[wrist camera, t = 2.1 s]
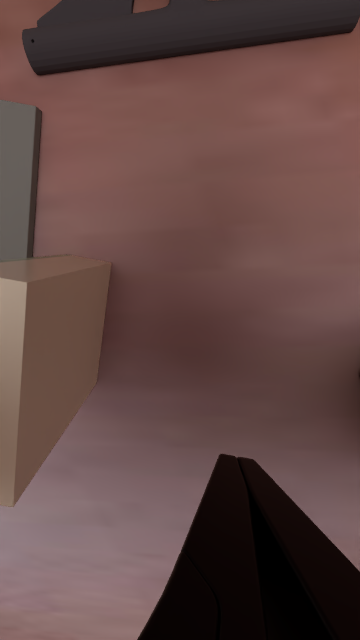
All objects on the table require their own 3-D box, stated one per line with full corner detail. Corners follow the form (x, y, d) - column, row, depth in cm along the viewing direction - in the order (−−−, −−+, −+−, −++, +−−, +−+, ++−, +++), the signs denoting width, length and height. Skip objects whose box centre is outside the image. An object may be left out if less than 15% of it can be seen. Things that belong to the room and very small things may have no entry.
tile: (111, 262, 17) (27, 282, 8) (96, 382, 19) (13, 507, 10) (66, 254, 17) (-66, 265, 8) (55, 375, 18) (-65, 494, 10)
